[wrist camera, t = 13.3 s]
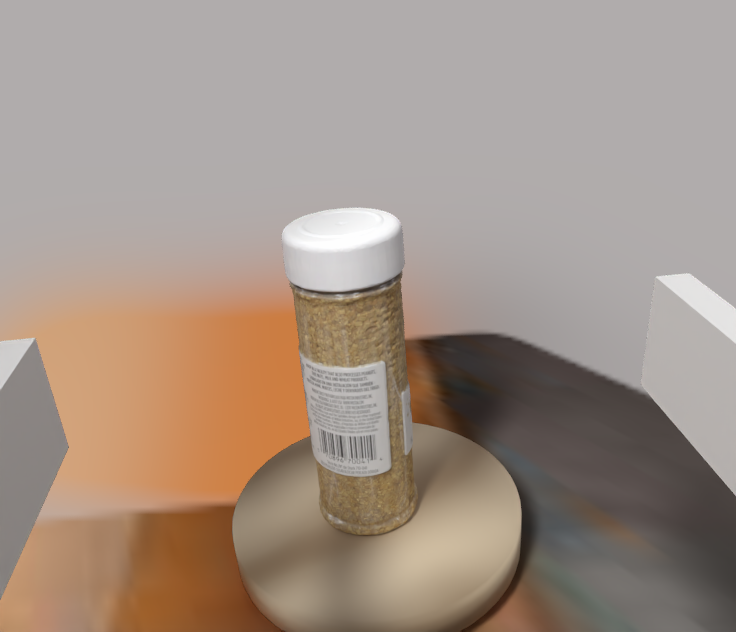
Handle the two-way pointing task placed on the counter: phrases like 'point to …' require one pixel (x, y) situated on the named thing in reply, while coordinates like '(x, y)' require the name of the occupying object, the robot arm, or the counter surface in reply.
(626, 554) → the counter surface
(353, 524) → the spice jar
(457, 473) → the disc
